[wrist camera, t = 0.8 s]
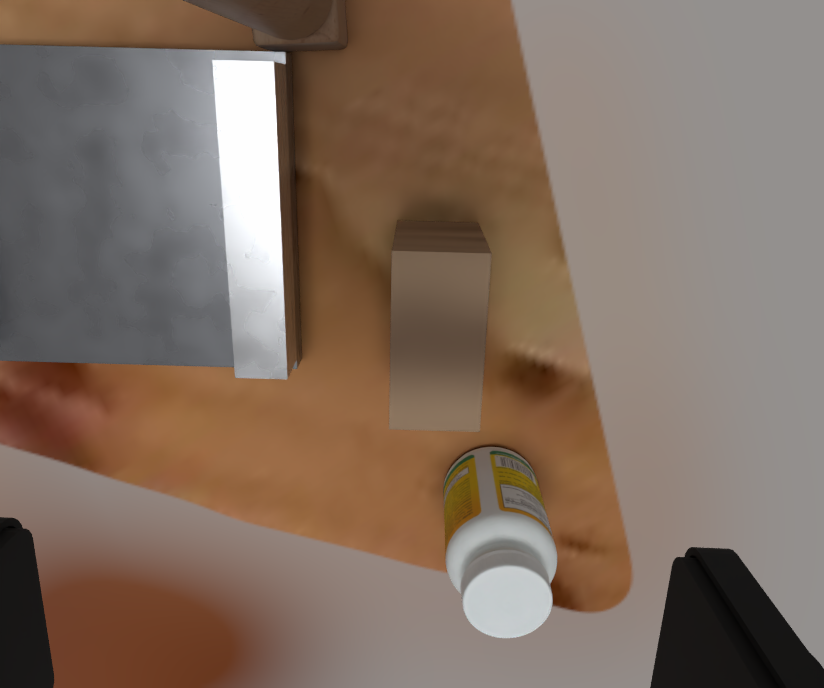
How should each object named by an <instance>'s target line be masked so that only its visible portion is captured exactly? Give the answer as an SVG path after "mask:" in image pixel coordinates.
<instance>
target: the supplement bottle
mask: <svg viewBox="0 0 824 688" xmlns="http://www.w3.org/2000/svg"><path fill="white" fill-rule="evenodd" d="M443 494H444V520H445V555H446V567H447V572H448V575H449V577H450V580H451V582H452V583H453V585H454V587H455V588H456V589H457V590H458V591H459V592H460V593H461V595H462V604H463V610H464V612H465V615H466V617H467V619H468V620H469V621H470V623H471V624H472V625H473V626H474V627H475V628H476V629H478V630H479V631H481V632H483V633H485V634H487V635H490V636H493V637H498V638H515V637H520V636H523V635H526V634H529V633H530V632H532V631H534V630H535V629H537V628H538V627H539V626H540V625H542V624H543V623H544V622H545V620H546V619H547V617H548V615H549V614H550V611H551V608H552V601H553V600H552V592H551V587H550V583H551V581H552V579H553V577H554V575H555V571H556V567H557V552H556V547H555V543H554V539H553V536H552V532H551V529H550V525H549V521H548V518H547V514H546V511H545V507H544V503H543V500H542V496H541V493H540V489H539V486H538V482H537V479H536V476H535V473H534V471H533V469H532V468H531V466H530V465H529V464H528V462H527V461H526V460H525V459H524V458H522V457H521V456H520V455H518V454H517V453H515V452H513V451H510V450H508V449H504V448H500V447H483V448H479V449H475V450H472V451H470V452H468V453H466V454H464V455H463V456H462V457H461V458H460V459H458V460H457V461H456V462H455V463H454V464H453V466H452V467H451V468H450V470H449V472H448V473H447V476H446V478H445V482H444V490H443Z"/></svg>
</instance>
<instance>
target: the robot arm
mask: <svg viewBox="0 0 824 688" xmlns="http://www.w3.org/2000/svg"><path fill="white" fill-rule="evenodd" d="M53 685H54V673H53V666H52V659H51V653H50V646H49V640H48V633H47V627H46V620H45V614H44V608H43V601H42V595H41V588H40V582H39V575H38V569H37V562H36V556H35V549H34V543H33V537H32V534H31V533H30V531H29V530H27V529H23V528H22V525H21V523H20V522H19V521H18V520H17V519H15V518H2V517H0V688H53ZM650 688H824V669H823V667H822V666H821V664H820V663H819V662H818V661H817V660H816V659H815V658H814V657H813V656H812V655H811V653H809V651H808V650H807V649H806V647H805V646H804V645H803V643H802V642H801V641H800V639H799V638H798V636H797V635H796V634H795V632H794V631H793V630H792V628H791V627H790V626H789V624H788V623H787V622H786V620H785V619H784V617H783V616H782V615H781V613H780V612H779V611H778V609H777V608H776V607H775V605H774V604H773V603H772V601H771V600H770V599H769V597H768V596H767V595H766V593H765V592H764V590H763V589H762V588H761V587H760V585H759V583H758V582H757V581H756V579H755V578H754V577H753V575H752V574H751V573H750V571H749V570H748V568H747V567H746V566H745V564H744V563H743V562H742V560H741V559H740V558H739V556H738V555H737V554H736V553H735V552H734V551H733V550H731V549H720V548H718V549H717V548H697V547H691V548H689V549H688V550H687V552H686V553H685V557H677V558H676V559H675V560H674V562H673V565H672V570H671V575H670V581H669V587H668V592H667V598H666V603H665V609H664V615H663V620H662V626H661V631H660V637H659V642H658V648H657V653H656V659H655V665H654V670H653V676H652V682H651V687H650Z"/></svg>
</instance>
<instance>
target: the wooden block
mask: <svg viewBox="0 0 824 688" xmlns="http://www.w3.org/2000/svg"><path fill="white" fill-rule="evenodd" d="M183 1H186V2H188V3H191V4H193V5H196V6H198V7H201V8H203V9H206V10H208V11H211V12H213V13H216V14H218V15H221V16H223V17H226V18H228V19H231V20H233V21H236V22H238V23H241V24H243V25H246V26H248V27H251V28H252V33H253V40H254V42H255V44H256V46H258V47H261V48H264V49H267V50H271V51H274V52H292V51H316V50H340V49H343V48H345V47H346V46H347V43H348V37H347V21H346V6H345V0H183Z"/></svg>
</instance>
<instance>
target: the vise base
mask: <svg viewBox="0 0 824 688" xmlns="http://www.w3.org/2000/svg"><path fill="white" fill-rule="evenodd" d="M301 359H302V345H301V316H300V287H299V258H298V229H297V200H296V170H295V141H294V112H293V83H292V54H290V53H287V52H269V51H231V50H192V49H153V48H115V47H76V46H38V45H0V360H1V361H35V362H70V363H105V364H140V365H175V366H210V367H234V368H235V378H262V379H288V377H289V375H290V373H291V371H292V369H297V368H298V366H299V364H300V361H301Z"/></svg>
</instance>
